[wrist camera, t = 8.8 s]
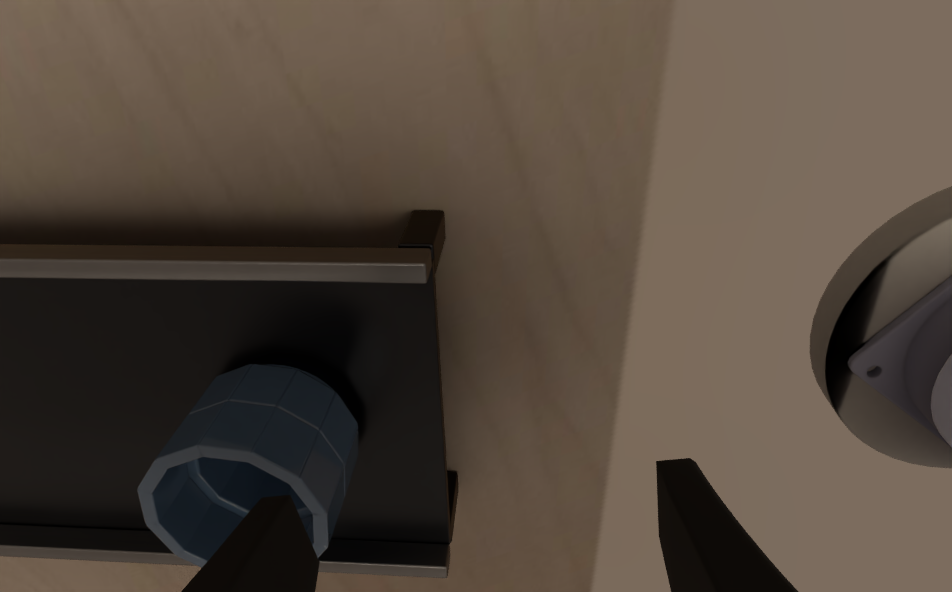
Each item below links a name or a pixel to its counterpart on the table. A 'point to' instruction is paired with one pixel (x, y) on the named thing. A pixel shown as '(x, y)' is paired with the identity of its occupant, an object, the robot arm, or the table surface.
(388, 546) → the conveyor belt
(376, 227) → the table surface
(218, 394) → the cup
